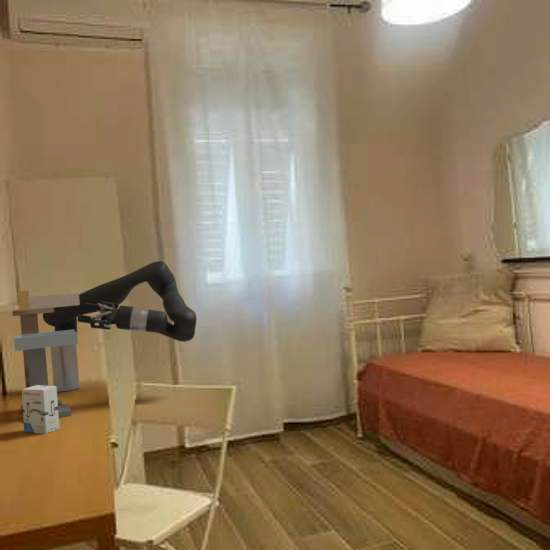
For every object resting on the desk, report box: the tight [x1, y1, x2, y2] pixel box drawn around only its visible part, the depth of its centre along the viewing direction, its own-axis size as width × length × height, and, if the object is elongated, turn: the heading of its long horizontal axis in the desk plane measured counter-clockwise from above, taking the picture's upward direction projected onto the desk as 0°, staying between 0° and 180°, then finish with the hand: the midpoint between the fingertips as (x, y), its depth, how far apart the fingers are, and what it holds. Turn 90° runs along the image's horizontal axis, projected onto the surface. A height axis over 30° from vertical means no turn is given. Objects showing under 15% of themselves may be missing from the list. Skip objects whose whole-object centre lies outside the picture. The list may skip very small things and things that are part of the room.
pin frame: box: [13, 330, 79, 419], centre depth 178 cm, size 14×17×24 cm
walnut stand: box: [12, 307, 63, 415], centre depth 189 cm, size 9×12×32 cm
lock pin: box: [17, 290, 80, 310], centre depth 191 cm, size 6×18×6 cm, turn 112°
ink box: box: [21, 385, 60, 435], centre depth 158 cm, size 9×5×12 cm, turn 62°
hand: (81, 312), depth 187 cm, fingers open, 8 cm apart
